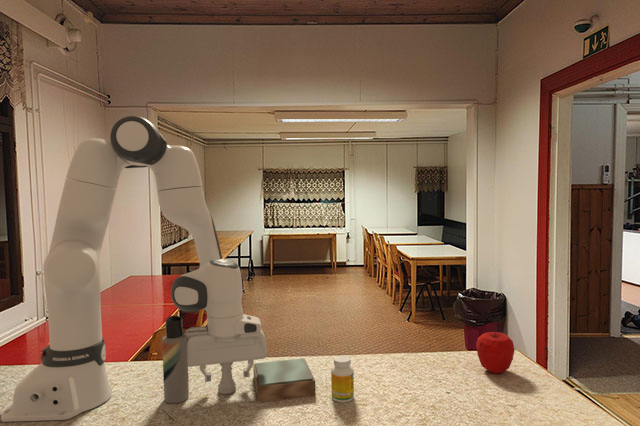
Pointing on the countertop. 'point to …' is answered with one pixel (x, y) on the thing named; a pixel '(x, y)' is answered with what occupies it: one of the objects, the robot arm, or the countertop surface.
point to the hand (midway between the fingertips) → (227, 378)
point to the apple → (495, 351)
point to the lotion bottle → (175, 361)
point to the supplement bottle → (342, 380)
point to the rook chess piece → (226, 379)
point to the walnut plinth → (283, 380)
